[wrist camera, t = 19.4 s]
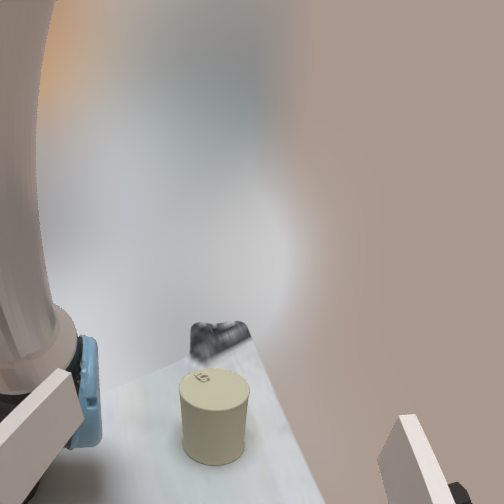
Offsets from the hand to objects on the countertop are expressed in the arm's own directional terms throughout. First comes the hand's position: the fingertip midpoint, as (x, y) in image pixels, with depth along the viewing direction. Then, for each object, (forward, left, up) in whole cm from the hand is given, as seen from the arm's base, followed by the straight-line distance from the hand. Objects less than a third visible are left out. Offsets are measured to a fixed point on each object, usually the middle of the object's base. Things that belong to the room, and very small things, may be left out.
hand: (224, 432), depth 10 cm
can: (+1, +24, -28) cm, 37 cm away
